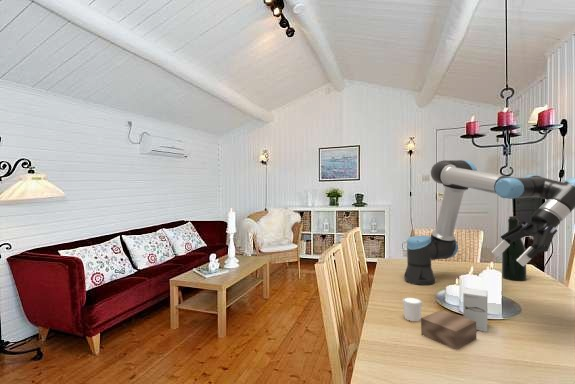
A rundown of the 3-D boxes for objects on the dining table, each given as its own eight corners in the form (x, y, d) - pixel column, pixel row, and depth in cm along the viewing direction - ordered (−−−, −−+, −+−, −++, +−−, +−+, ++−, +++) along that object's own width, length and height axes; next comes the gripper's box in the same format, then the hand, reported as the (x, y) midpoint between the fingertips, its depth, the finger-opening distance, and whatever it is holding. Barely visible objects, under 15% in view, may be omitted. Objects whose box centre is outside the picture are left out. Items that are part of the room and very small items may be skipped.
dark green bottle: (531, 281, 158) (530, 217, 158) (508, 281, 160) (507, 217, 159) (519, 275, 168) (518, 215, 168) (498, 275, 170) (497, 215, 170)
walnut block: (421, 335, 105) (421, 318, 105) (441, 326, 112) (441, 309, 112) (456, 350, 95) (456, 331, 95) (476, 339, 102) (476, 321, 102)
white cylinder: (421, 315, 121) (421, 297, 121) (423, 323, 114) (422, 304, 114) (402, 313, 123) (402, 296, 123) (403, 321, 116) (402, 302, 116)
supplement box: (462, 328, 110) (462, 292, 109) (464, 320, 116) (464, 286, 116) (487, 333, 106) (487, 296, 105) (488, 324, 112) (487, 289, 112)
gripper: (590, 227, 96) (541, 275, 97) (531, 219, 121) (492, 258, 122) (572, 210, 96) (523, 259, 97) (516, 206, 121) (478, 245, 122)
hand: (506, 258), depth 109 cm, fingers open, 13 cm apart
